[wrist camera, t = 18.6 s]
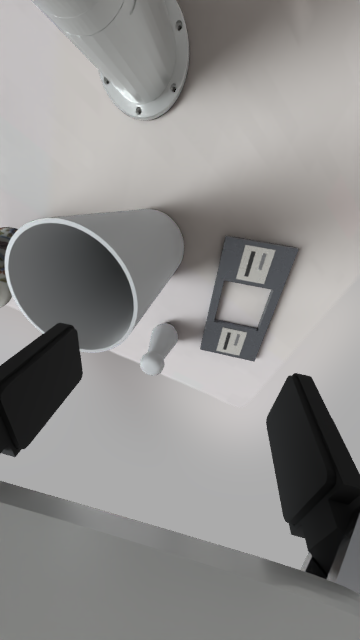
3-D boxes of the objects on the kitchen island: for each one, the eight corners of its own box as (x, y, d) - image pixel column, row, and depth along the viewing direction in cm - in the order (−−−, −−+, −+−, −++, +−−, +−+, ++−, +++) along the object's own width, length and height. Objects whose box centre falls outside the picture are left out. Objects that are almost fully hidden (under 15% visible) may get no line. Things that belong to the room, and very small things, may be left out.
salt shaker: (184, 329, 48) (172, 368, 37) (171, 345, 51) (155, 386, 40) (163, 314, 48) (144, 349, 36) (150, 331, 50) (128, 369, 39)
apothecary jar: (11, 264, 49) (-90, 293, 33) (17, 211, 43) (-102, 217, 27) (60, 292, 50) (-15, 333, 34) (73, 245, 44) (-11, 269, 28)
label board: (225, 235, 38) (225, 236, 37) (296, 247, 37) (299, 249, 36) (200, 346, 50) (199, 350, 48) (253, 358, 49) (254, 362, 47)
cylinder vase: (108, 226, 41) (-23, 253, 19) (167, 195, 37) (85, 187, 15) (139, 286, 46) (61, 363, 24) (194, 265, 41) (161, 335, 20)
